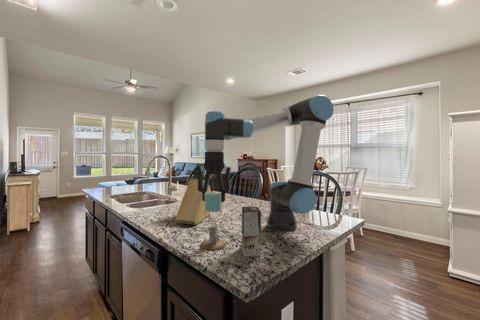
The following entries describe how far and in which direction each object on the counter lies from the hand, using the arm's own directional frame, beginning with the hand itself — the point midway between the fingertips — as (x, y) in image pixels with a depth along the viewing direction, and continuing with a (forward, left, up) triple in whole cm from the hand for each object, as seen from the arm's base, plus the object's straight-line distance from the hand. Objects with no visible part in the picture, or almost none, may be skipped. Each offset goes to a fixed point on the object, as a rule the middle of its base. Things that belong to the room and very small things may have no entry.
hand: (213, 209), depth 92 cm
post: (0, 0, -14) cm, 14 cm away
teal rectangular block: (0, 0, 0) cm, 0 cm away
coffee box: (-15, +3, -15) cm, 21 cm away
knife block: (+21, -39, -15) cm, 46 cm away
